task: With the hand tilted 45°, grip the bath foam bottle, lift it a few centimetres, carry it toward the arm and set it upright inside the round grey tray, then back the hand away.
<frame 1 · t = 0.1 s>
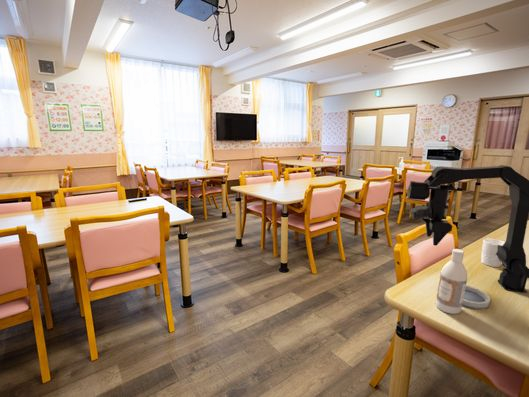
hand: (431, 240, 109), 15 cm above the table, tool pointing down, fingers open, 9 cm apart
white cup: (490, 263, 123), on the table
bath foam: (447, 308, 92), on the table
round grey tray: (467, 298, 97), on the table
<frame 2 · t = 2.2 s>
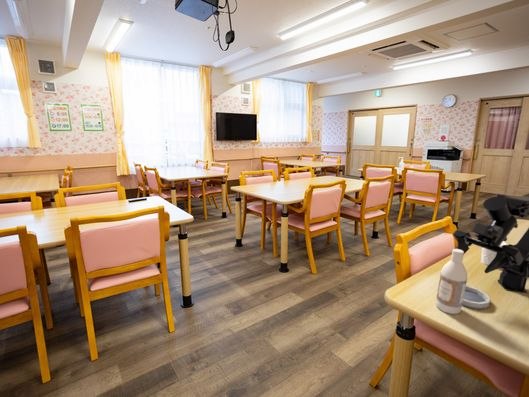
hand: (469, 265, 92), 13 cm above the table, tool tilted 45°, fingers open, 9 cm apart
nothing on the table moved.
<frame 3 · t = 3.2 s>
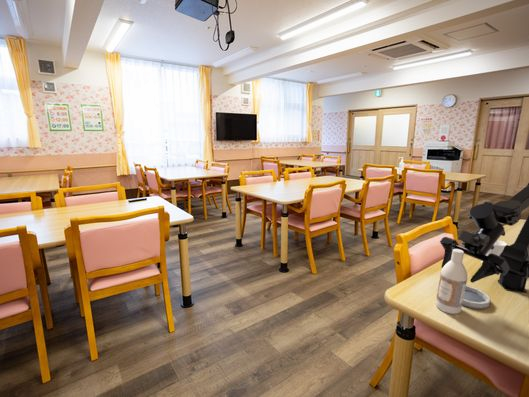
hand: (456, 274, 90), 12 cm above the table, tool tilted 45°, fingers open, 9 cm apart
nothing on the table moved.
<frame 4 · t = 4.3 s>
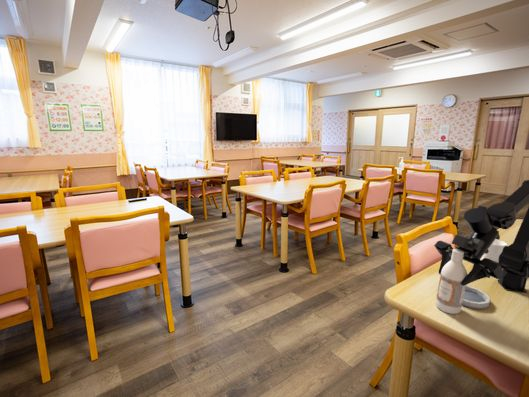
hand: (450, 279, 89), 11 cm above the table, tool tilted 45°, fingers closed on bath foam, 7 cm apart
bath foam: (447, 308, 92), on the table, touching gripper
everything else where it was.
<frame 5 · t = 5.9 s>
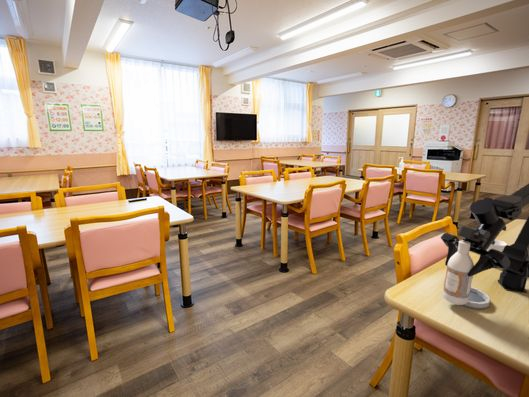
hand: (456, 270, 90), 13 cm above the table, tool tilted 45°, fingers closed on bath foam, 7 cm apart
bath foam: (454, 299, 93), point 2 cm above the table, touching gripper
everything else where it was.
when the fingers open (12 cm above the table, at t = 7.7 s): bath foam stays where it is, resting on round grey tray.
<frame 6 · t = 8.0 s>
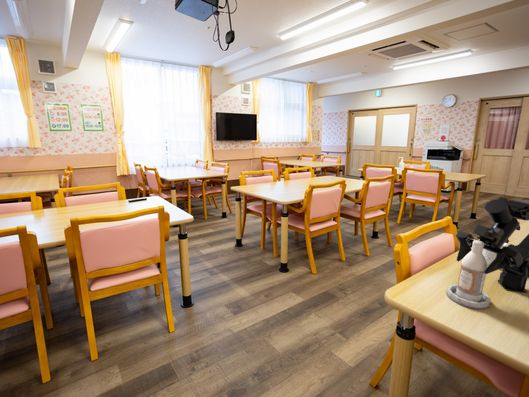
hand: (470, 266, 94), 12 cm above the table, tool tilted 45°, fingers open, 9 cm apart
bath foam: (467, 297, 97), resting on round grey tray
everything else where it was.
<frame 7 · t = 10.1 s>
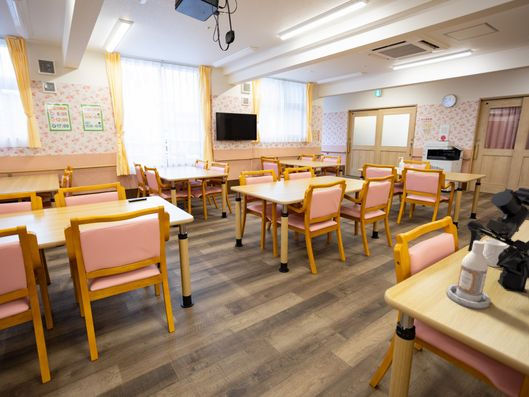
hand: (482, 258, 98), 13 cm above the table, tool tilted 35°, fingers open, 9 cm apart
nothing on the table moved.
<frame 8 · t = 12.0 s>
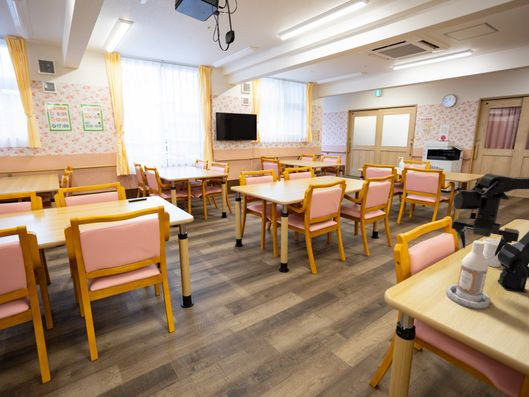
hand: (479, 251, 104), 13 cm above the table, tool pointing down, fingers open, 9 cm apart
nothing on the table moved.
at the end: bath foam 0.2 cm off-centre on the round grey tray, point 0.4 cm above the round grey tray's base; bath foam tilted 0°; the gripper is holding nothing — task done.
